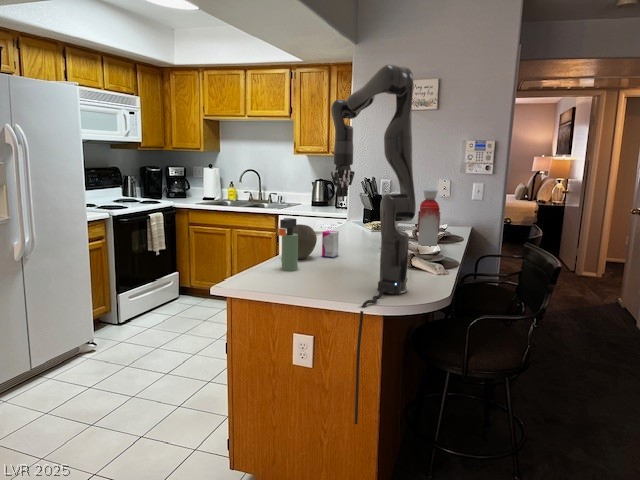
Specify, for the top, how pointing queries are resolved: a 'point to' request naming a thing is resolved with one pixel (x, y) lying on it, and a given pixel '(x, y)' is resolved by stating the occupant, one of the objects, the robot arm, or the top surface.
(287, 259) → the spray bottle
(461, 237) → the top surface
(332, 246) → the supplement box
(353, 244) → the top surface
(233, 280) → the top surface
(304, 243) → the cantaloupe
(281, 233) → the trigger
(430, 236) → the bottle
